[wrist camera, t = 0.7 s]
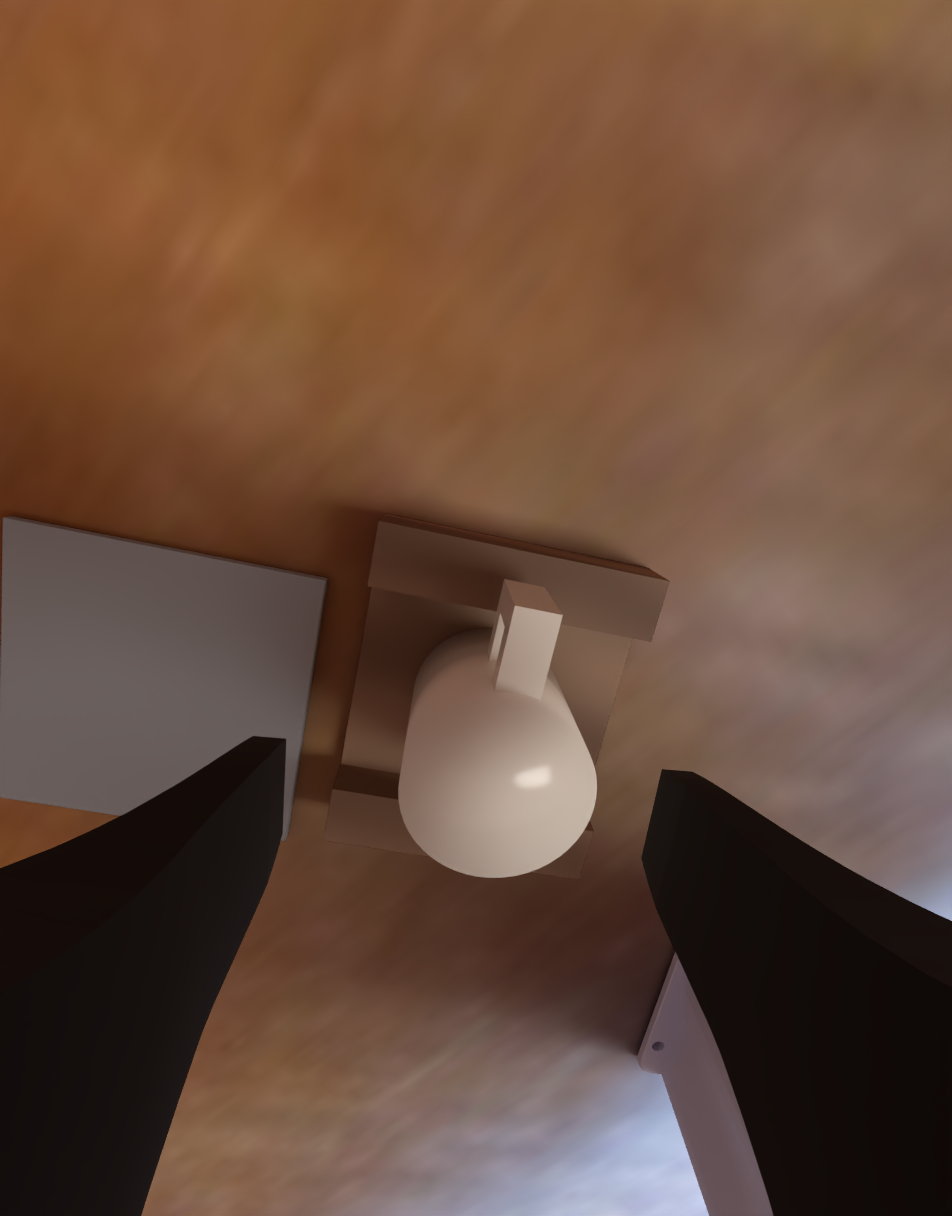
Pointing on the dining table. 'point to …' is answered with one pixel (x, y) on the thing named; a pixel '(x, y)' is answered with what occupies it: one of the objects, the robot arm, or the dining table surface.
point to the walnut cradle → (461, 601)
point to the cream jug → (496, 747)
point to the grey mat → (143, 665)
